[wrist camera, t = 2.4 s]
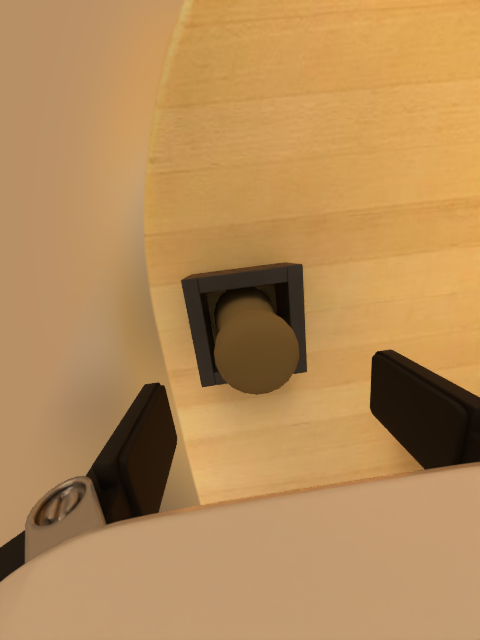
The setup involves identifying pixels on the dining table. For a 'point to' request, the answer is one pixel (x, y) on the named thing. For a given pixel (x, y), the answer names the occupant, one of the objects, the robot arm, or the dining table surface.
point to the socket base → (199, 285)
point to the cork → (253, 342)
